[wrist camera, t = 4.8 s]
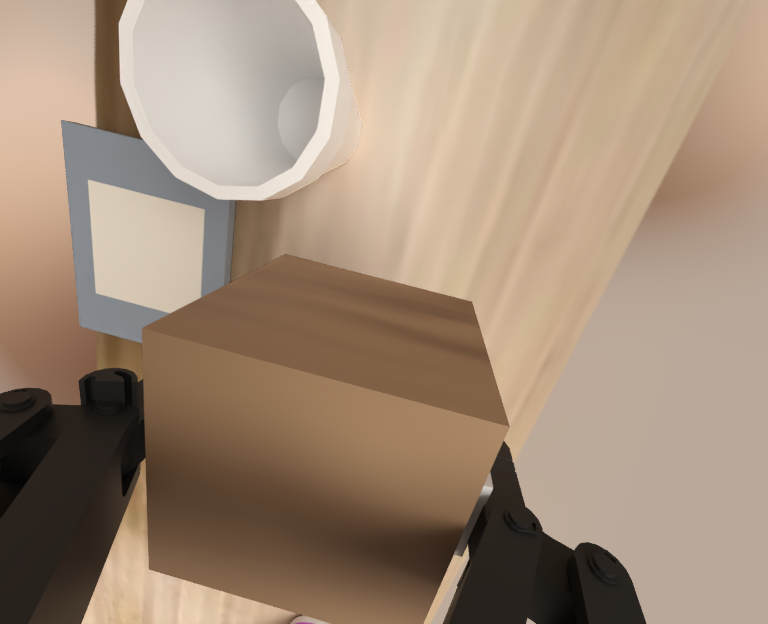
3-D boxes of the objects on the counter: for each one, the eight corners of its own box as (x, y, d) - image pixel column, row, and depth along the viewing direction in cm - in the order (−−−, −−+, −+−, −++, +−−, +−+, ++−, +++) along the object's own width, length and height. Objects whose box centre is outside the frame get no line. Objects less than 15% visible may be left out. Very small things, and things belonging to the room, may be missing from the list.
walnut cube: (285, 254, 15) (141, 328, 8) (471, 301, 15) (509, 426, 7) (266, 408, 18) (149, 569, 11) (421, 450, 18) (412, 648, 10)
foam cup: (234, 113, 27) (76, 60, 15) (324, 17, 24) (218, -143, 12) (315, 217, 29) (231, 243, 17) (408, 138, 26) (386, 103, 14)
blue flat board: (73, 122, 29) (59, 119, 28) (238, 163, 29) (231, 162, 27) (89, 322, 36) (78, 326, 35) (224, 359, 35) (217, 364, 34)
